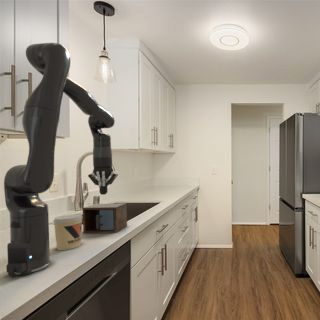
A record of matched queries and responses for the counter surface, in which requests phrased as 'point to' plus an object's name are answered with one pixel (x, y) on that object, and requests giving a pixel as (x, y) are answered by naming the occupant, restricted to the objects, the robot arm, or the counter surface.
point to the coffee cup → (68, 231)
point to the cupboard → (90, 218)
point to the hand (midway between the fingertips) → (103, 194)
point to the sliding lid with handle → (105, 220)
